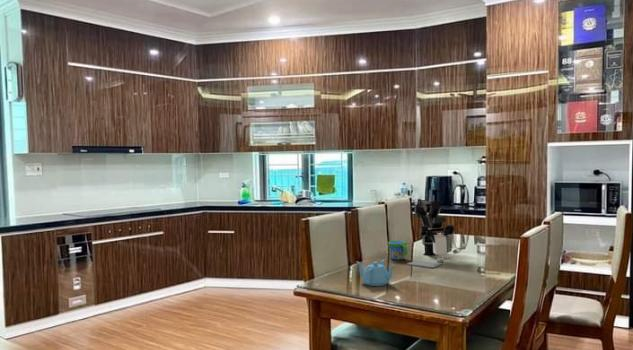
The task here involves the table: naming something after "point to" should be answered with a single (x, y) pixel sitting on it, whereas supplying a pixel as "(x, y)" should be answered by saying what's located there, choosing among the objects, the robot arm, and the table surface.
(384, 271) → the teapot
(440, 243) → the cover
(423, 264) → the mat
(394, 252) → the snack cup
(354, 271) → the table surface
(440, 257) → the silver metallic cylinder
